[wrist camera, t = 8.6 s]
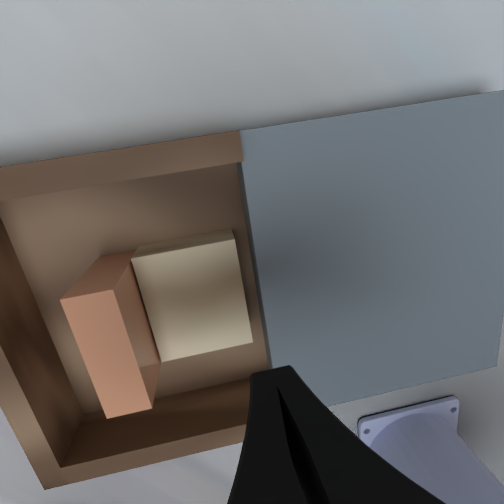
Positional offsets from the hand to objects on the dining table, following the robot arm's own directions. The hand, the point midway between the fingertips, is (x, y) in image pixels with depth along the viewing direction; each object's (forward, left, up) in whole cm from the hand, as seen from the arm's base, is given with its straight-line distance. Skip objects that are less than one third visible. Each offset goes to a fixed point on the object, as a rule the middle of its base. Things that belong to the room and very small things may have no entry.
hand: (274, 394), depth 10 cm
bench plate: (0, -8, -9) cm, 12 cm away
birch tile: (0, +3, -9) cm, 9 cm away
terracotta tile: (0, +5, -6) cm, 8 cm away
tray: (0, +6, -9) cm, 11 cm away
